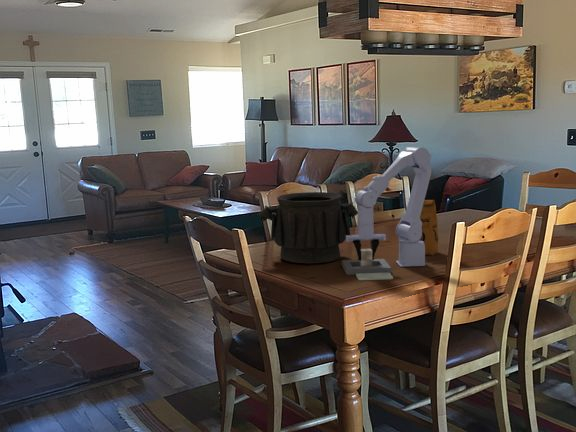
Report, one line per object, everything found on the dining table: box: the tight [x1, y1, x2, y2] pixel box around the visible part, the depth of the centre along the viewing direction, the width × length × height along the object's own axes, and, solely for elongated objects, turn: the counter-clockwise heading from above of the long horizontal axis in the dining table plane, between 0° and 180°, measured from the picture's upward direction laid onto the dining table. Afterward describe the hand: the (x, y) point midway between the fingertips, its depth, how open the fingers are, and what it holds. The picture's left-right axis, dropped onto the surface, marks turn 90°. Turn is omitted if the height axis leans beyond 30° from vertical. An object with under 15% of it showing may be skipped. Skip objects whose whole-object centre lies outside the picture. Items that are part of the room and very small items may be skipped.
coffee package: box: [419, 199, 439, 256], centre depth 257 cm, size 10×12×22 cm
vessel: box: [257, 191, 358, 264], centre depth 253 cm, size 31×32×25 cm
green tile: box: [355, 272, 394, 281], centre depth 223 cm, size 12×7×1 cm, turn 93°
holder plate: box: [341, 258, 392, 276], centre depth 235 cm, size 16×14×2 cm
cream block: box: [360, 248, 372, 266], centre depth 234 cm, size 4×4×6 cm
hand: (366, 259), depth 234 cm, fingers closed on cream block, 4 cm apart
